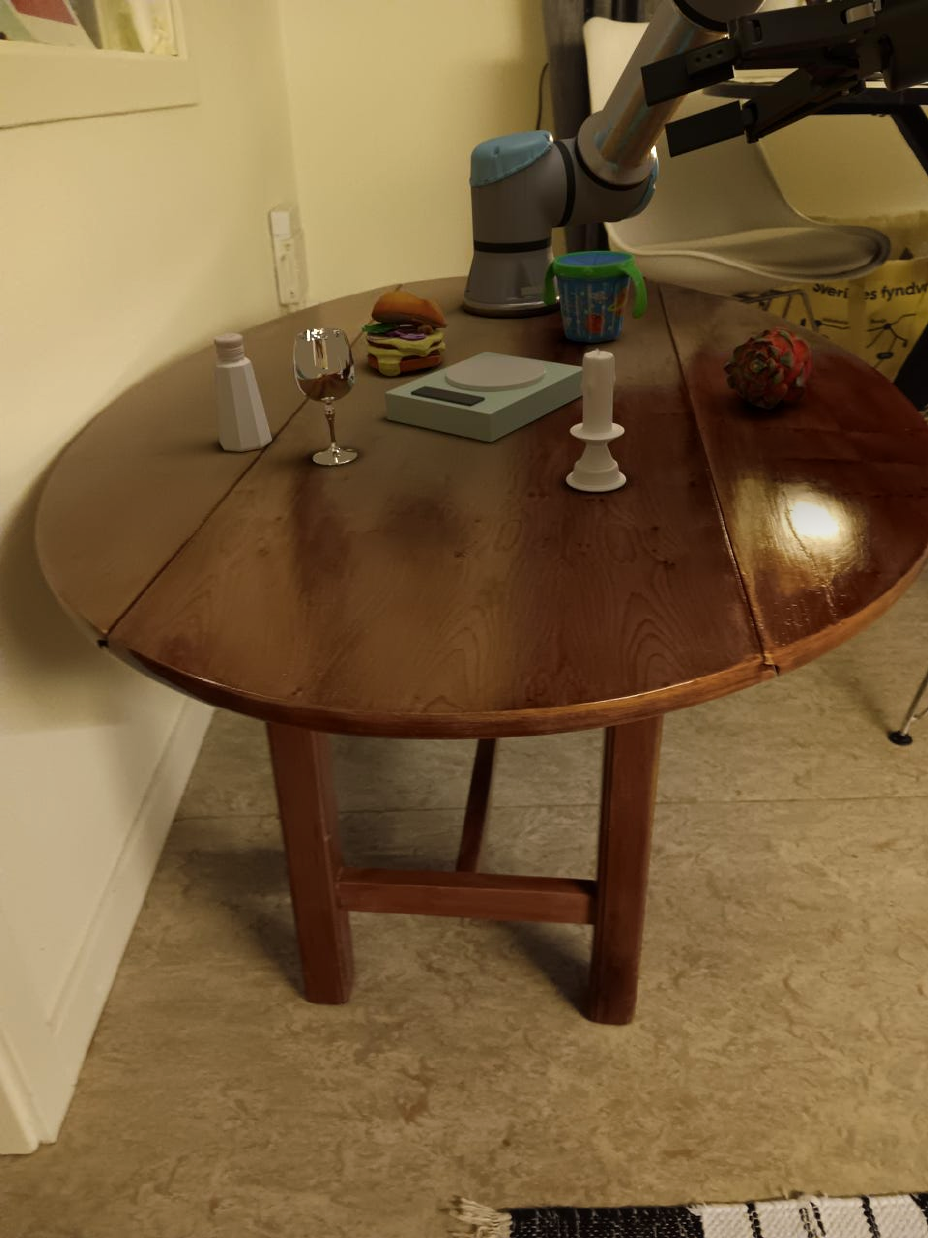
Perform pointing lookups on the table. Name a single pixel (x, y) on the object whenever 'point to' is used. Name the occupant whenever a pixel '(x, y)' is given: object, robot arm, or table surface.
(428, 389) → the kitchen scale
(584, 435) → the candle
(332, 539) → the table surface
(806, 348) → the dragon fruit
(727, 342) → the table surface
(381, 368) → the cheeseburger
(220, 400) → the pepper shaker
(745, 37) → the robot arm
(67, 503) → the table surface
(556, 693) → the table surface
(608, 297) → the snack cup
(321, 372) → the wineglass
